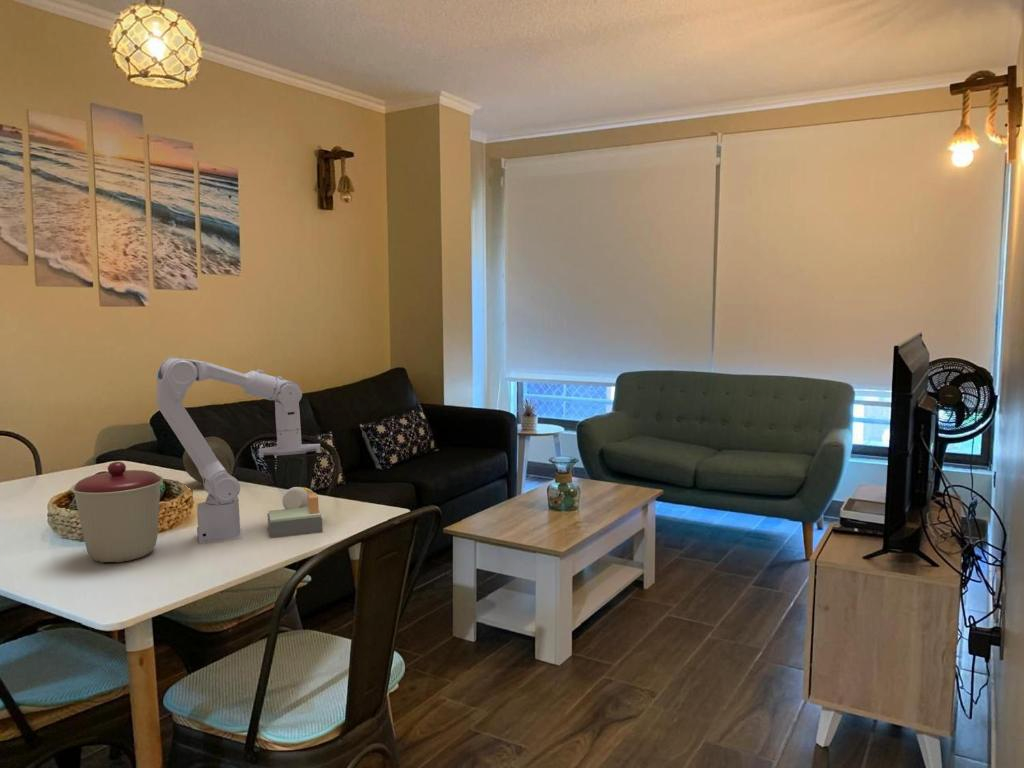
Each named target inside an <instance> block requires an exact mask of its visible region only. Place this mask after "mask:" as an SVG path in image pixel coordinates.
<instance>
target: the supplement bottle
mask: <svg viewBox="0 0 1024 768" xmlns="http://www.w3.org/2000/svg"><path fill="white" fill-rule="evenodd" d="M307 493H314V491H313V490H311V489H310V488H307V487H302V486H294V487H291V488H289V489H287V490H286V491H285V492H284V494H283V496H282V501H281V502H282V505H283V508H284V509H291V508H301V507H308V497H307Z"/></svg>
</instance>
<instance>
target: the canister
mask: <svg viewBox="0 0 1024 768" xmlns="http://www.w3.org/2000/svg"><path fill="white" fill-rule="evenodd" d="M163 481H164V477H163V476H162V475H158V474H157V473H155V472H154V471H149V470H140V469H138V470H137V469H128V470H127V467H126V464H125V463H124V462H122V461H113V462H111V463H109V465H108V466H107V472H102V473H96V474H93V475H90V476H87V477H84V478H82V479H80V480H79V481H77V482H76V483H75V484H73V485H72V486H71V487H70V492H71V493H73V495H74V498H75V499H74V500H75V504H76V508H77V513H78V517H79V521H80V528H81V532H82V536H83V540H84V544H85V548H86V552H87V553H88V555H89V557H90V558H91V559H92V560H93V561H95V560H96V561H95V562H98V561H99V563H104V562H116V563H122V562H123V563H125V562H129V561H133V560H136V559H137V560H138V559H140V558H142V557H145V556H146V555H149V554H150V553H151V552H153V550H154V549H155V547H156V545H157V541H158V531H159V520H160V519H159V518H160V517H159V516H160V500H161V499H160V497H161V484H162V483H163ZM124 561H125V562H124Z"/></svg>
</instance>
